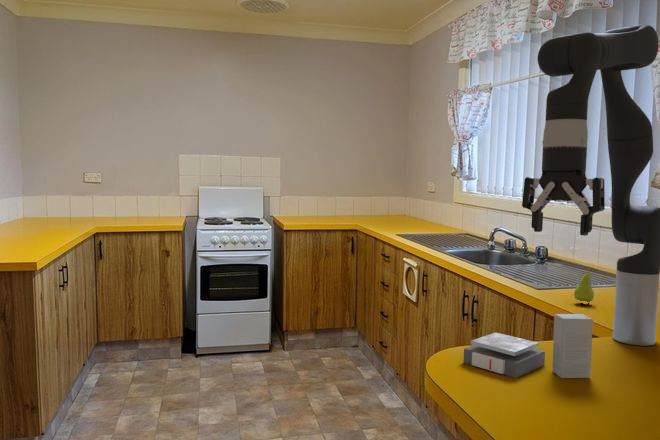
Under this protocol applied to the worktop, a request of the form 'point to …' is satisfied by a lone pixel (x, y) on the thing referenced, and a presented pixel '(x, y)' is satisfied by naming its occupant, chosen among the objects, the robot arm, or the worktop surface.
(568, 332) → the skincare box
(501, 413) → the worktop surface
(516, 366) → the scale base
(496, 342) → the pan
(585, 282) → the fruit
